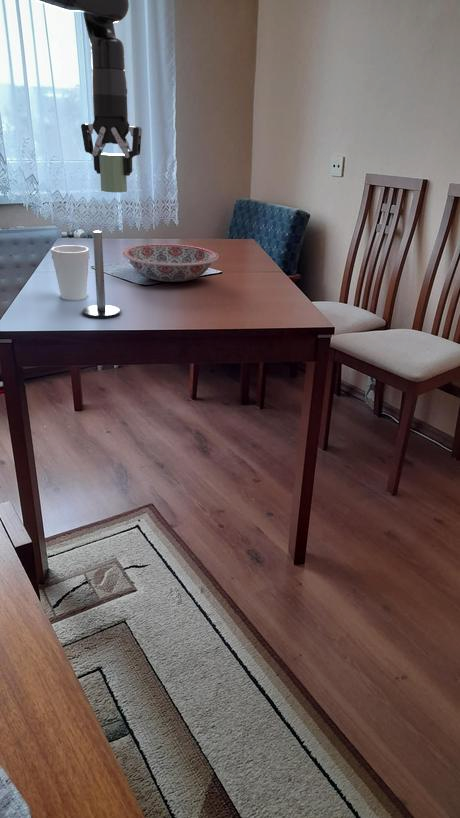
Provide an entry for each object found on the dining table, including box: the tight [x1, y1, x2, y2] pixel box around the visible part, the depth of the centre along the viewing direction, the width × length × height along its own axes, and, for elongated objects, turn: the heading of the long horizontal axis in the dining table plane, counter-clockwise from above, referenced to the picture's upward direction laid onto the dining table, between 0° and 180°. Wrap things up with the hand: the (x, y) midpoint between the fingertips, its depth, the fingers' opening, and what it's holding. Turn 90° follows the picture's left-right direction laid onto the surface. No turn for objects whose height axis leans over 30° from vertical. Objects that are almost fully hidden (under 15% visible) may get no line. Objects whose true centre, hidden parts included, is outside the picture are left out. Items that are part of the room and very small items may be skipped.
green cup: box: [99, 152, 128, 193], centre depth 131 cm, size 6×6×8 cm
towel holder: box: [82, 230, 121, 320], centre depth 133 cm, size 9×9×20 cm
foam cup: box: [50, 244, 91, 301], centre depth 146 cm, size 10×9×13 cm
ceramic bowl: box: [121, 243, 219, 283], centre depth 170 cm, size 29×29×8 cm
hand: (113, 174), depth 131 cm, fingers closed on green cup, 6 cm apart
